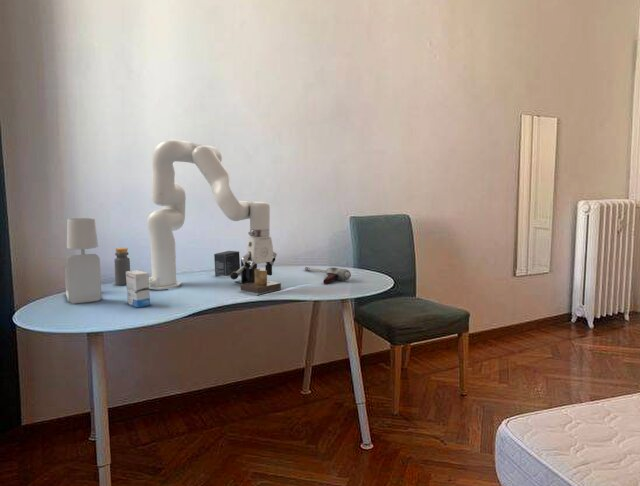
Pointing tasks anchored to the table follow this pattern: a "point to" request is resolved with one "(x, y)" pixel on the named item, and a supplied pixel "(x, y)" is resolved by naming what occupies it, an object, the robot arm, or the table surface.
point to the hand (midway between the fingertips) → (259, 276)
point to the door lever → (236, 273)
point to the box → (226, 263)
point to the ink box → (138, 288)
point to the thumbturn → (260, 276)
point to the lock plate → (261, 287)
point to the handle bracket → (244, 275)
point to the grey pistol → (333, 274)
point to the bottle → (121, 266)
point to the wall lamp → (82, 262)
